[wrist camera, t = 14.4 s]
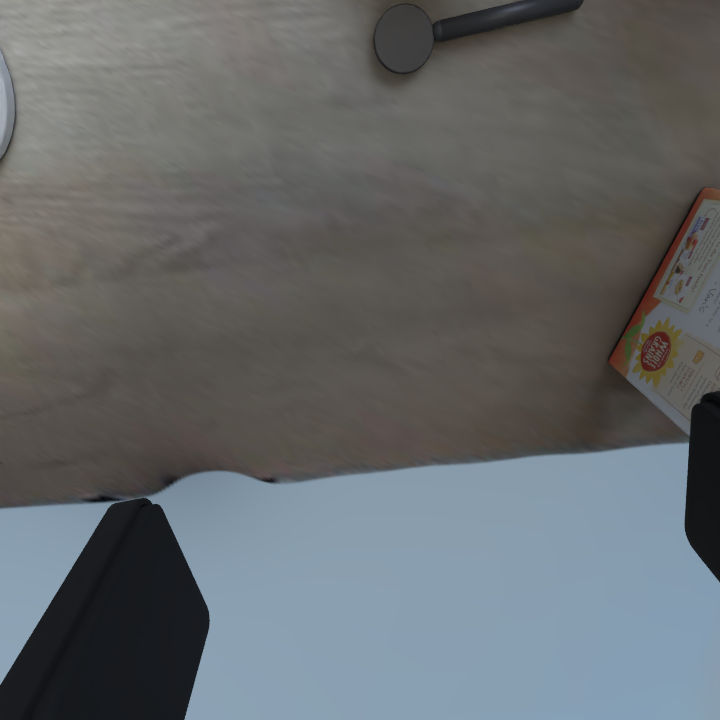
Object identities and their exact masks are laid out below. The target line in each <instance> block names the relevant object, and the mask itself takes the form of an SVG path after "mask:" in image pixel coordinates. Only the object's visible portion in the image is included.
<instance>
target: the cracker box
mask: <svg viewBox="0 0 720 720" xmlns="http://www.w3.org/2000/svg"><path fill="white" fill-rule="evenodd" d="M609 363H610V364H611V365H612V366H613V367H614V368H615V369H616V370H617V371H618V372H619V373H620V374H621V375H622V376H624V377H625V378H626V379H627V380H628V381H629V382H630V383H631V384H632V385H633V386H635V387H636V388H637V389H638V390H639V391H640V392H641V393H642V394H643V395H644V396H646V397H647V398H648V399H649V400H650V401H651V402H652V403H653V404H654V405H656V406H657V407H658V408H659V409H660V410H661V411H662V412H663V413H664V414H665V415H666V416H668V417H669V418H670V419H671V420H672V421H673V422H674V423H675V424H676V425H677V426H679V427H680V428H681V429H682V430H683V431H684V432H685V433H686V434H688V435H689V436H690V424H691V411H692V408H693V406H694V405H695V404H698V403H700V399H701V398H702V396H703V395H704V394H706V393H710V392H715V391H720V190H718V189H712V188H703V189H702V191H701V193H700V194H699V196H698V198H697V200H696V202H695V204H694V205H693V207H692V209H691V211H690V213H689V215H688V217H687V218H686V220H685V222H684V224H683V226H682V227H681V229H680V231H679V233H678V235H677V237H676V239H675V240H674V242H673V244H672V246H671V248H670V249H669V251H668V253H667V255H666V257H665V258H664V261H663V263H662V264H661V266H660V268H659V270H658V272H657V273H656V275H655V277H654V279H653V281H652V283H651V284H650V286H649V288H648V290H647V292H646V293H645V295H644V297H643V299H642V301H641V303H640V305H639V306H638V308H637V310H636V312H635V314H634V315H633V317H632V319H631V321H630V323H629V325H628V326H627V328H626V330H625V332H624V334H623V336H622V337H621V339H620V341H619V343H618V345H617V347H616V348H615V350H614V352H613V354H612V355H611V357H610V360H609Z"/></svg>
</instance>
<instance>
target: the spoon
mask: <svg viewBox="0 0 720 720" xmlns="http://www.w3.org/2000/svg"><path fill="white" fill-rule="evenodd" d="M583 1H584V0H523V1H518V2H514V3H510V4H506V5H502V6H497V7H493V8H489V9H485V10H481V11H477V12H472V13H468V14H464V15H460V16H456V17H451V18H447V19H443V20H439V21H436V22H435V23H434V24H433V25H432V23H431V21H430V19H429V17H428V16H427V14H426V13H425V12H424V11H423V10H422V9H420V8H419V7H417V6H415V5H412V4H398V5H395V6H393V7H391V8H390V9H388V10H387V11H386V12H385V13H384V14H383V15H382V16H381V18H380V20H379V21H378V23H377V26H376V29H375V33H374V49H375V53H376V56H377V58H378V60H379V61H380V63H381V64H382V65H383V66H384V67H385V68H386V69H388V70H389V71H391V72H393V73H397V74H408V73H411V72H413V71H415V70H417V69H418V68H420V67H421V66H422V65H423V64H424V63H425V62H426V61H427V59H428V58H429V56H430V54H431V52H432V49H433V44H434V40H435V41H437V42H441V41H446V40H450V39H454V38H458V37H463V36H467V35H471V34H475V33H480V32H484V31H488V30H492V29H497V28H501V27H505V26H509V25H514V24H518V23H522V22H526V21H531V20H535V19H539V18H543V17H548V16H552V15H556V14H560V13H564V12H569V11H573V10H576V9H578V8H579V7H580V6H581V5H582V3H583Z"/></svg>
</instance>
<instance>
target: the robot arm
mask: <svg viewBox="0 0 720 720" xmlns="http://www.w3.org/2000/svg"><path fill="white" fill-rule="evenodd" d="M14 118H15V108H14V93H13V88H12V83H11V79H10V74H9V71H8V69H7V66H6V64H5V61H4V58H3V56H2V53H1V51H0V159H1V157H2V156H3V154H4V153H5V151H6V149H7V146H8V144H9V141H10V139H11V136H12V131H13V125H14ZM685 532H686V536H687V538H688V541H689V543H690V545H691V546H692V548H693V549H694V550H695V552H696V553H697V554H698V556H699V557H700V558H701V559H702V561H703V562H704V563H705V564H706V565H707V567H708V568H709V569H710V570H711V571H712V573H713V574H714V575H715V577H716V578H717V579H718V580H719V582H720V391H715V392H710V393H706V394H704V395H703V396H702V398H701V399H700V403H698V404H695V405H694V406H693V408H692V411H691V424H690V441H689V459H688V476H687V494H686V510H685ZM209 622H210V620H209V611H208V608H207V605H206V603H205V601H204V599H203V596H202V594H201V592H200V590H199V588H198V586H197V584H196V581H195V579H194V577H193V575H192V572H191V570H190V568H189V566H188V564H187V561H186V559H185V557H184V555H183V553H182V551H181V548H180V546H179V544H178V542H177V540H176V537H175V535H174V533H173V531H172V529H171V527H170V525H169V522H168V520H167V518H166V516H165V513H164V511H163V509H162V508H161V506H160V505H158V504H152V503H151V501H150V500H148V499H147V498H141V499H135V500H130V501H124V502H119V503H115V504H113V505H111V506H110V507H109V508H108V510H107V512H106V513H105V515H104V516H103V518H102V520H101V521H100V523H99V525H98V526H97V528H96V529H95V531H94V533H93V534H92V536H91V538H90V539H89V541H88V543H87V544H86V546H85V547H84V549H83V551H82V552H81V554H80V556H79V557H78V559H77V561H76V562H75V564H74V566H73V567H72V569H71V570H70V572H69V574H68V575H67V577H66V579H65V581H64V582H63V584H62V585H61V587H60V589H59V590H58V592H57V593H56V595H55V597H54V598H53V600H52V601H51V603H50V605H49V607H48V608H47V610H46V612H45V613H44V615H43V616H42V618H41V620H40V621H39V623H38V625H37V626H36V628H35V629H34V631H33V633H32V634H31V636H30V637H29V639H28V641H27V642H26V644H25V646H24V647H23V649H22V651H21V653H20V654H19V655H18V657H17V659H16V660H15V662H14V664H13V665H12V667H11V669H10V670H9V672H8V674H7V675H6V677H5V678H4V680H3V682H2V683H1V685H0V720H184V719H185V715H186V711H187V708H188V704H189V700H190V697H191V693H192V689H193V686H194V682H195V678H196V675H197V671H198V667H199V663H200V660H201V656H202V652H203V649H204V645H205V641H206V638H207V634H208V629H209Z"/></svg>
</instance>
